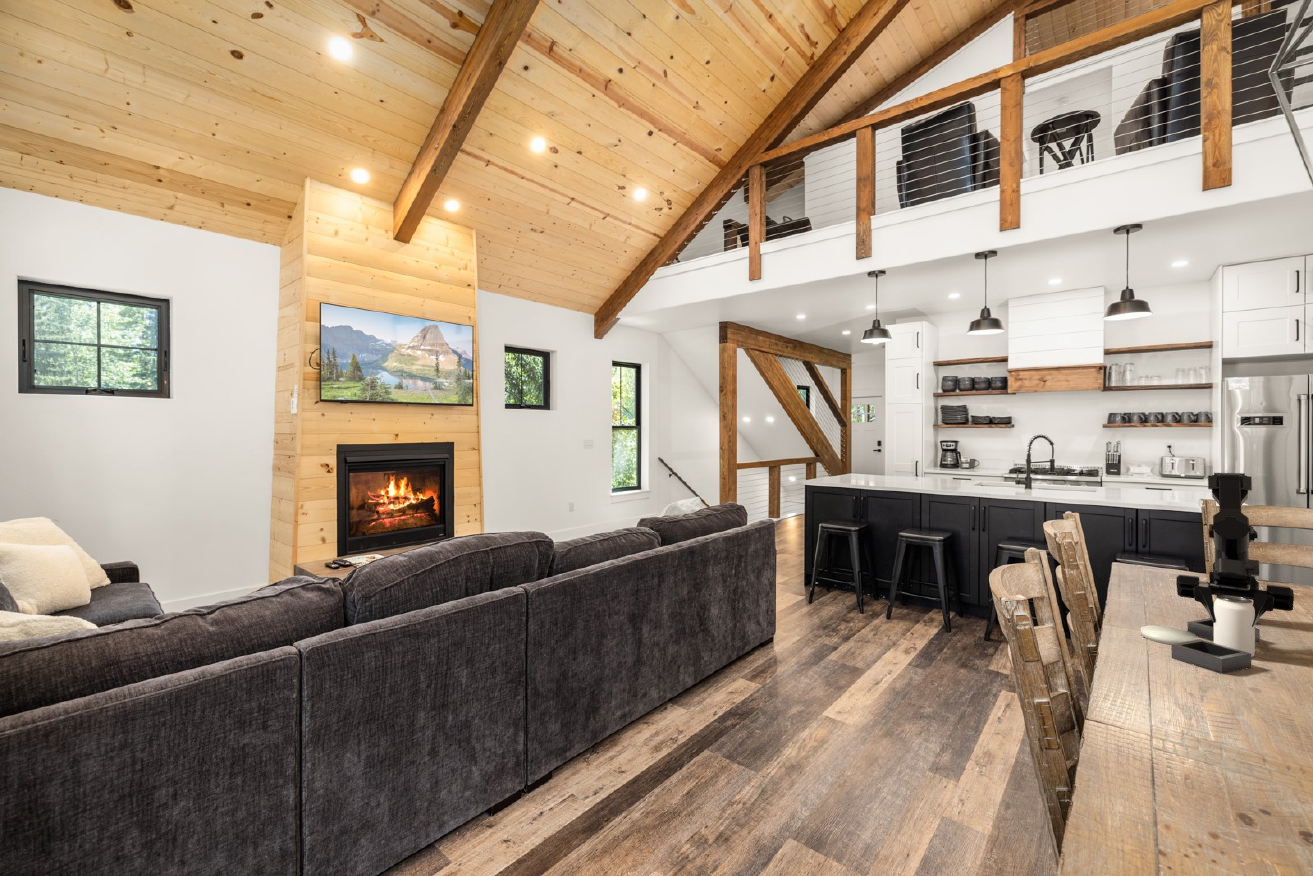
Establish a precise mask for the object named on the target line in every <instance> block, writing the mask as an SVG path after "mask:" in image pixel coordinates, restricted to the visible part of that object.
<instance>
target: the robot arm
mask: <svg viewBox="0 0 1313 876" xmlns="http://www.w3.org/2000/svg"><path fill="white" fill-rule="evenodd" d="M1245 474H1246V473H1244V472H1243V473H1242V472H1214V473H1213V474H1211V475H1207V489H1208V490H1211V497H1212V499H1214V501H1215V502H1216V503H1217V504H1218V507H1219V510H1218V512H1217V513H1215V514H1213V516H1212V523H1209V524H1208V538H1209V539H1212V540H1213V543H1214V562H1213V564H1212V571H1211V570H1210V571H1209V573H1208V574H1209V577H1208V578H1209V581H1205V580H1200V576H1196V575H1189V574H1188V575H1187V574H1178V575H1177V576H1176V578H1175V579H1176V583H1175V584H1176V591H1177V592H1176V594H1177V596H1179V597H1181V598H1186V599H1194V601H1195V602H1198V603H1200V604H1201V605H1202V606H1203V607H1204V609H1205V610H1206V612H1207V613H1208V615H1209V618H1211V619H1212V621H1213V622H1214V623H1215V622H1216V618H1215V614H1214V599H1213V596H1219V595H1227V596H1236V597H1241V598H1246V599H1249V600H1251V601H1252V605H1253V607H1254V609H1255V618H1254V622H1253V624H1252V627H1253V626H1254V625H1255V626H1256V624H1257V623H1258V621H1259V620H1260V619H1261V618H1262V616H1263V615H1264V614H1265V613H1267V612H1273V611H1274V610H1280V611H1286V612H1291V611H1293V610H1294V601H1295V596H1294V595H1295V593H1294V589H1293V588H1292V587H1290V586H1284V585H1277V584H1275V585H1274V584H1267V583H1266V590H1263V589H1260V582H1259V581H1258V580H1257V578H1256V577H1259V576H1260V560H1257V559H1250V558H1249V557H1250V556H1249V552H1250V551H1249V548H1250V542H1251V543H1252V542H1254V541H1256V539H1258V538H1259V537H1258V532H1257V531H1256V530H1255V528H1254V526H1250V521H1249V520H1250V519H1249V517H1248V516H1246V515H1245V514H1244V513H1243V512H1242V506H1243V504H1245V502H1246V501H1247V500H1248V499H1249V492H1251V491H1253V484H1252V483H1253V479H1252V476H1250V475H1249V476H1248V475H1245Z"/></svg>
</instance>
